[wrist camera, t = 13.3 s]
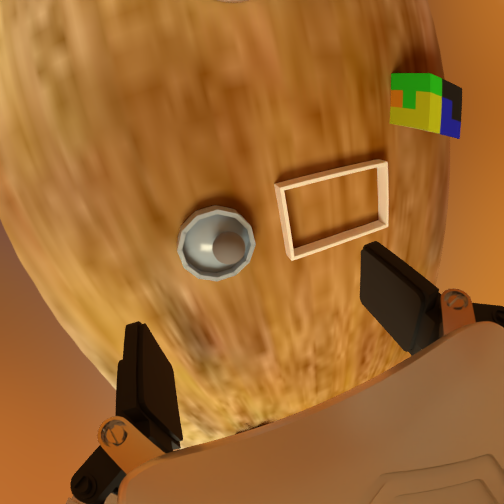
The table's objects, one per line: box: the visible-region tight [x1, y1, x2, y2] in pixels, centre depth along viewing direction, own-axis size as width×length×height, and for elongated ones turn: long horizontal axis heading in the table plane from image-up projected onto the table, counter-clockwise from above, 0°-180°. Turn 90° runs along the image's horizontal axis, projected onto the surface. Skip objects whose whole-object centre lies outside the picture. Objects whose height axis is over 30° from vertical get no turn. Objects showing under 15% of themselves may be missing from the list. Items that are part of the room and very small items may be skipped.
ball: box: [212, 231, 245, 264], centre depth 44 cm, size 5×5×5 cm
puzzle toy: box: [390, 73, 462, 139], centre depth 39 cm, size 10×10×10 cm
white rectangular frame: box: [274, 159, 388, 261], centre depth 48 cm, size 13×21×2 cm, turn 102°
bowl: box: [177, 205, 255, 281], centre depth 45 cm, size 12×12×2 cm
